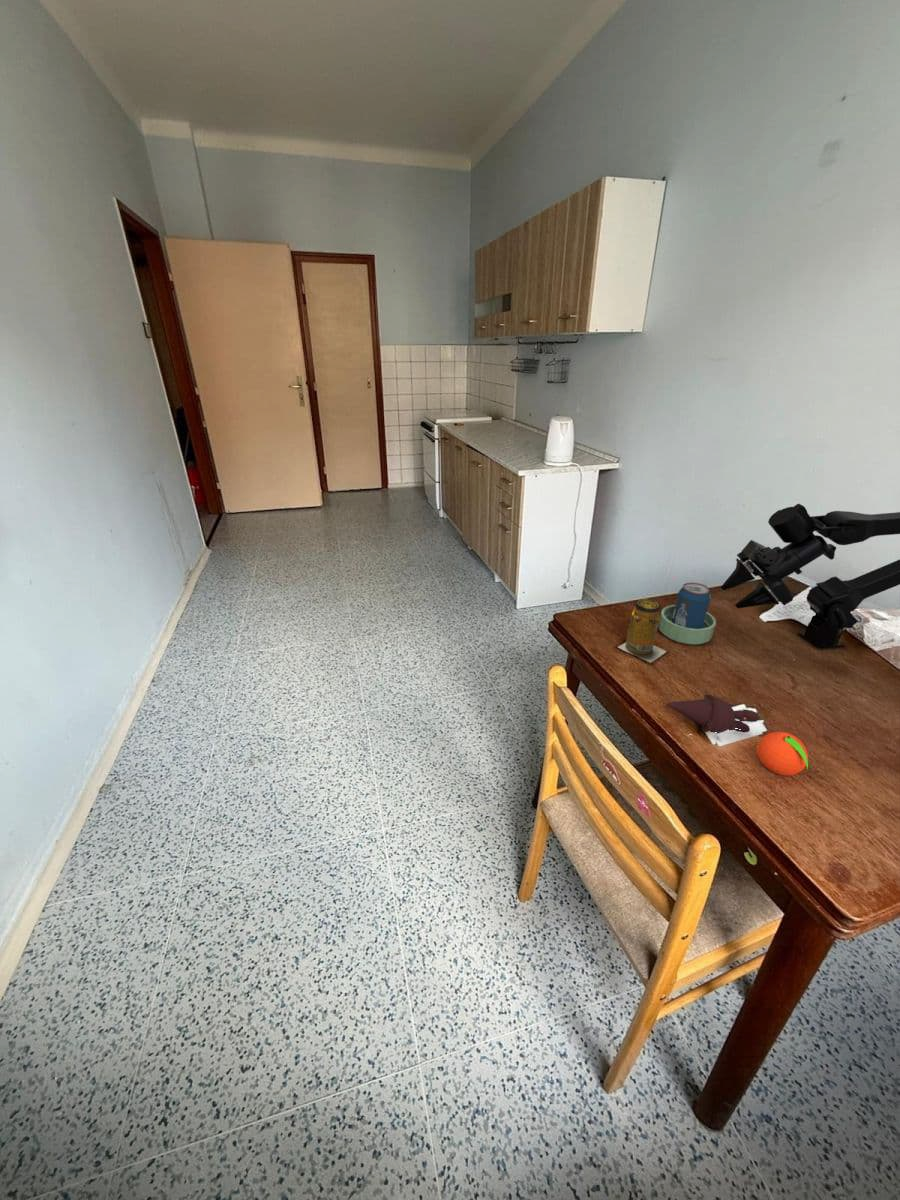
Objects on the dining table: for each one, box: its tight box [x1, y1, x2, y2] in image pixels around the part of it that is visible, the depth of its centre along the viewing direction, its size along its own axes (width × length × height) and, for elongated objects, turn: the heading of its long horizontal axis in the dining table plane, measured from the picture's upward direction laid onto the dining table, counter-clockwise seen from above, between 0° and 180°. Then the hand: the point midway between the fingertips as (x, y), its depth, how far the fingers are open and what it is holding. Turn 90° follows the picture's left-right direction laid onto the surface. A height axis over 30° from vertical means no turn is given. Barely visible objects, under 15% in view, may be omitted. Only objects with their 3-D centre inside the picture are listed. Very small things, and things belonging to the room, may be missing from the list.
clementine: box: [756, 731, 809, 776], centre depth 78 cm, size 8×7×7 cm
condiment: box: [617, 598, 668, 664], centre depth 108 cm, size 7×8×12 cm
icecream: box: [666, 694, 761, 734], centre depth 87 cm, size 7×7×15 cm
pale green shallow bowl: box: [658, 604, 717, 645], centre depth 117 cm, size 12×12×4 cm
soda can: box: [672, 582, 712, 629], centre depth 115 cm, size 7×7×12 cm
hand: (728, 597), depth 112 cm, fingers open, 9 cm apart
